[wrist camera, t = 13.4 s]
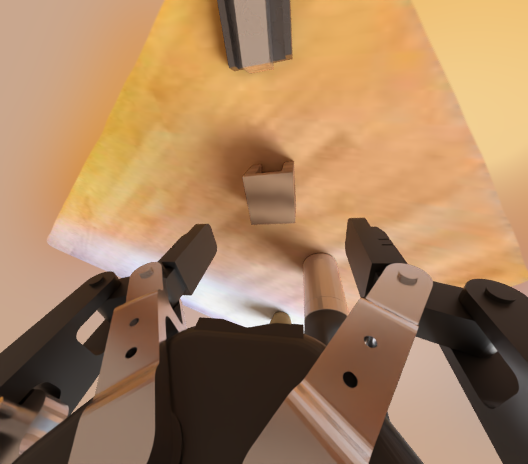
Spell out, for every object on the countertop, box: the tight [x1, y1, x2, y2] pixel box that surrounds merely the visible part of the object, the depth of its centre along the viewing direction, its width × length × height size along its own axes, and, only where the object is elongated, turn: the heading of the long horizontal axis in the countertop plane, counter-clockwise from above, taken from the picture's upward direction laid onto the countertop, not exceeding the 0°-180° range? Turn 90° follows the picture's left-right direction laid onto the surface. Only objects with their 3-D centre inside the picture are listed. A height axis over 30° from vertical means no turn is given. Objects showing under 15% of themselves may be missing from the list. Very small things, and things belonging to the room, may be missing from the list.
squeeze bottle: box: [270, 312, 291, 324], centre depth 61 cm, size 8×8×18 cm
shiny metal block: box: [234, 0, 274, 73], centre depth 26 cm, size 11×4×5 cm, turn 6°
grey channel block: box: [217, 0, 292, 71], centre depth 28 cm, size 9×10×3 cm
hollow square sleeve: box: [242, 161, 296, 225], centre depth 39 cm, size 10×9×8 cm
